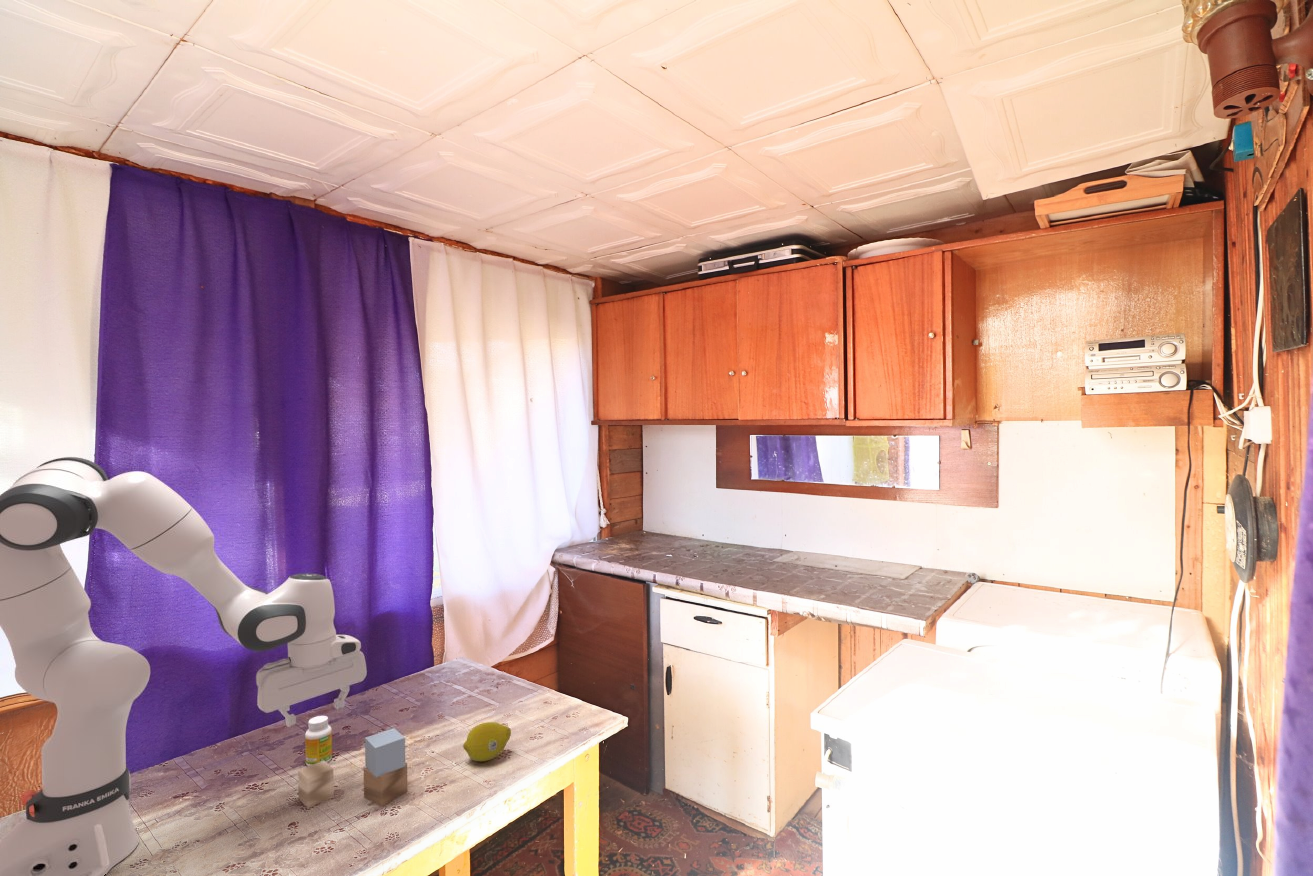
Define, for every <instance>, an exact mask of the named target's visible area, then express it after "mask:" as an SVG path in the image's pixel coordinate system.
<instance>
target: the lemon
mask: <svg viewBox="0 0 1313 876" xmlns="http://www.w3.org/2000/svg"><path fill="white" fill-rule="evenodd" d="M511 736H512V730H511V728H510V727H509V726H507V725H504V724H502V723H499V722H496V721H495V722H494V721H489V722H482V723H479V724H477V725H475V726H474V727H473V728H472V729H470V730H469V733H468V734H467V736H466V740H465V742H464V743H463V746H462V747H463V750H465V751H466V753H467V755H468V757H469V758H470V759H472V761H476V762H479V763H480V762H481V763H482V762H487V761H491V760H493V759H494V758H496V757H497V756H499V755H500V753H502V752H503V750H504V749H505V747H506V746H507V743H508V742H509V740H510V737H511Z"/></svg>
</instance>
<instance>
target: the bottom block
mask: <svg viewBox="0 0 1313 876" xmlns="http://www.w3.org/2000/svg"><path fill="white" fill-rule="evenodd" d="M405 763H406V766H405V767H402V768H399V769H397V770H394V771H392V772H389V773H386V774H384V775H381V776H379V777H375V776H374V775H373V774H372V773H371V772H370V771H369V770H368V768H367V767H366V766H365V768H363V798H364V799H366V800H369V801H371V802H373V803H374V804H377V805H379V806H381V807H383V806H385V805H387V804H388V803H390V802H392V801H394V800H396V799H397V798H398V797H401V796H402V795H404V794H406V793H407V792H409V791H408V788H409V787H408V762H405Z"/></svg>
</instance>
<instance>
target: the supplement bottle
mask: <svg viewBox="0 0 1313 876" xmlns="http://www.w3.org/2000/svg"><path fill="white" fill-rule="evenodd" d="M307 727H308V729H307V730H306V732H305V734H304V735H305V736H304V740H305V741H304V744H305V764H306V767H308V766H311V765H313V764H316V763H318V762H321V761H325V762H326V763H330V761H331V760H332V758H333V734H332V731H333V730H332V727H331V725H329V717H328V716H327V715H317V716H315V717H311V718H310V719H309V720H308V726H307Z"/></svg>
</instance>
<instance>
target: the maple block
mask: <svg viewBox="0 0 1313 876" xmlns="http://www.w3.org/2000/svg"><path fill="white" fill-rule="evenodd" d="M328 763H329V762H328ZM328 763H326V762H325V761H321V762H318V763H316V764H313V765H311V766H306V767H303V768H300V769H298V770H297V771H298V772H297V773H298V775H297V776H298V800H300V802H301V803H303V805H305V806H306V808H307V809H309V808H311V807H312V808H313V807H314V806H316V805H318V804H319V805H320V804H321V803H323V802H326V801H328V800H330V799H333V798H335V793H334V792H335V785H334V784H335V783H334V782H335V781H334V768H333V767H332V766H331V765H330V764H328Z"/></svg>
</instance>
